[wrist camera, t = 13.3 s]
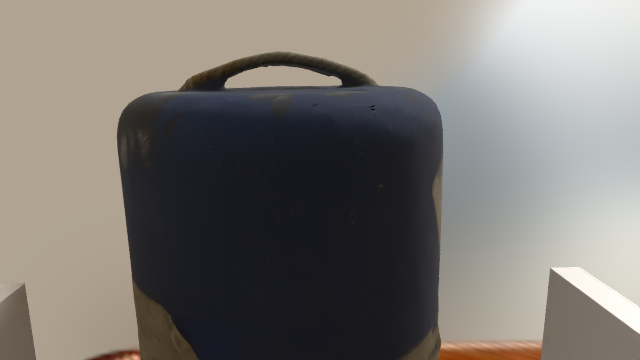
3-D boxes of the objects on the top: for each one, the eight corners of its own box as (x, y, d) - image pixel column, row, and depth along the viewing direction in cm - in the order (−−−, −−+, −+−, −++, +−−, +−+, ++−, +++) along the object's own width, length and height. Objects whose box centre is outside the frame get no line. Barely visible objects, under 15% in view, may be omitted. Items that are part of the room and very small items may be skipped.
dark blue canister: (457, 719, 13) (509, 37, 9) (113, 717, 13) (21, 40, 9) (401, 450, 22) (415, 56, 19) (200, 450, 23) (173, 58, 19)
